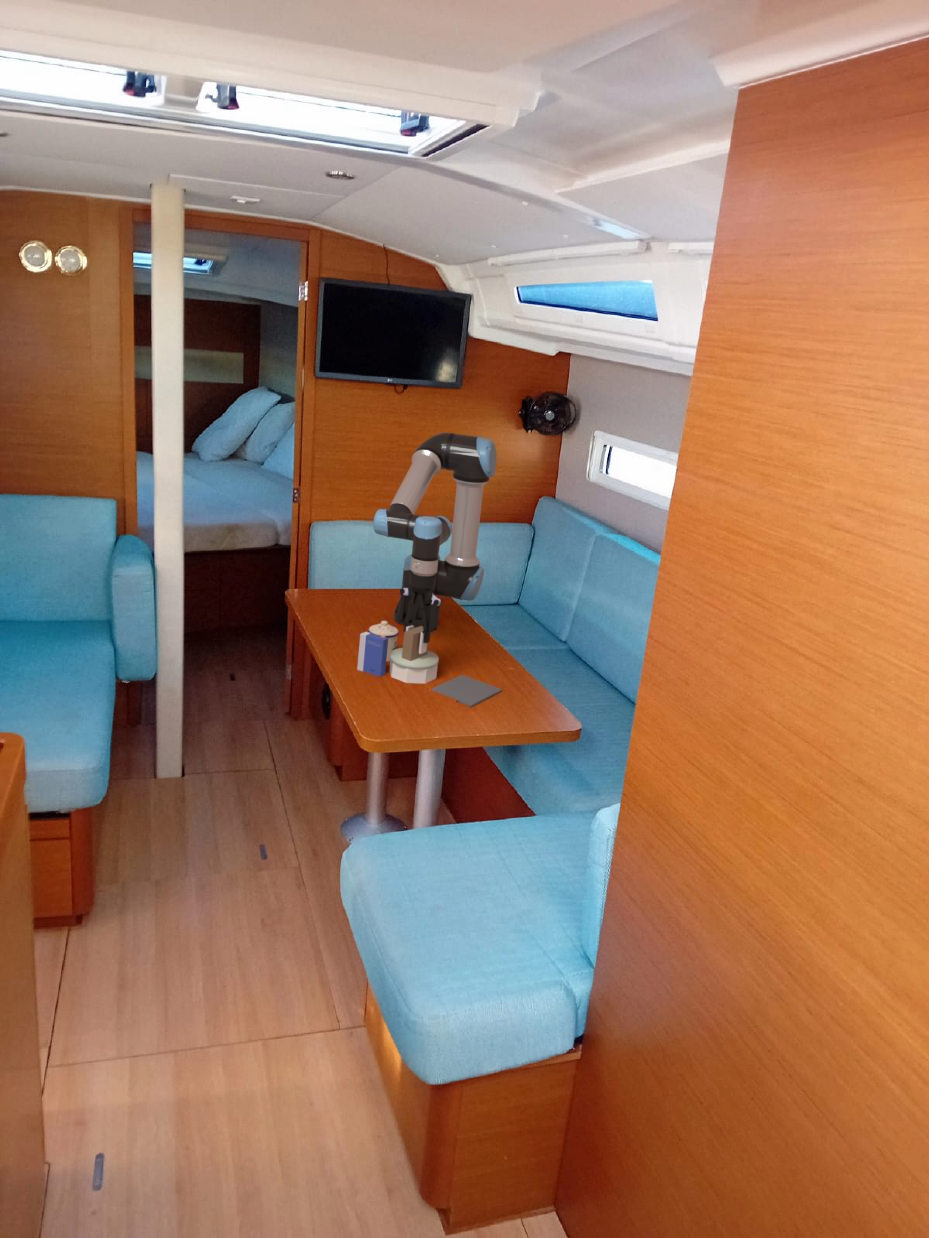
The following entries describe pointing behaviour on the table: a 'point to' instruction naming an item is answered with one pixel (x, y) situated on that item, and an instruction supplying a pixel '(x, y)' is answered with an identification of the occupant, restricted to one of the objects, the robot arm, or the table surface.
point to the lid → (413, 652)
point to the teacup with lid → (386, 635)
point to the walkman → (372, 653)
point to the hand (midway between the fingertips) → (415, 649)
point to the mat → (467, 690)
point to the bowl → (412, 674)
